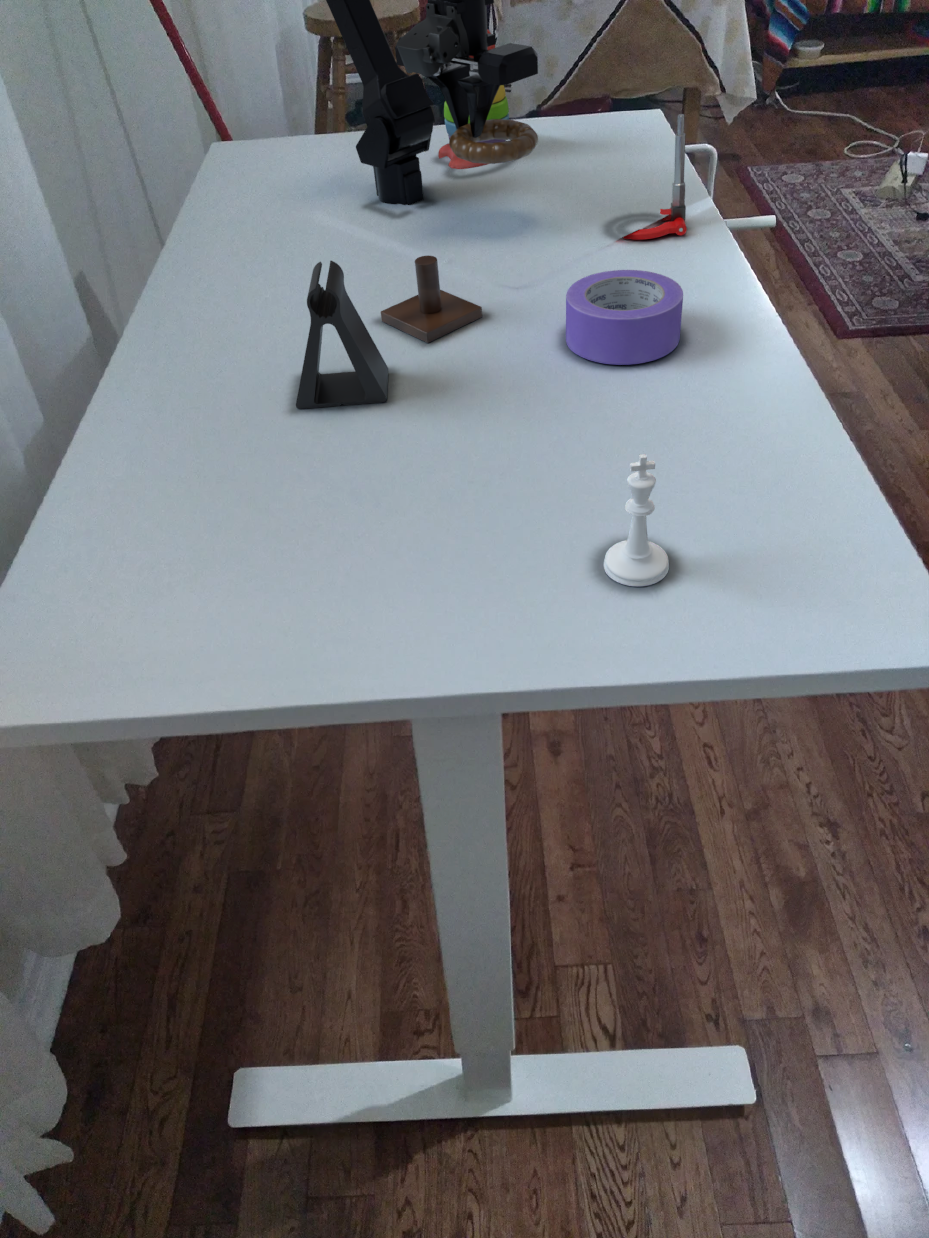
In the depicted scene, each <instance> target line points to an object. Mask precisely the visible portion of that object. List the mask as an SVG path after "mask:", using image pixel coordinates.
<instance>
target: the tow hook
mask: <svg viewBox="0 0 929 1238" xmlns="http://www.w3.org/2000/svg"><path fill="white" fill-rule="evenodd" d="M676 123H677V126H676V128H677V129H676V132H677V133H675V135H674V136H675V138H674V168H673V169H674V170H673V171H674V172H673V182H672V189H671V190H672V192H671V193H672V194H671V202H670V208H660V209H659V210H660V211H659V214H660V215H662V216H664V217H662V218H660V219H659V220H660V221H663V223H662V224H660V225H657V226H654V227H650V228H638V229H636V230H635V231H631V232H630V233H628V234H626V235H623V236H622V237H621V239H625V240H634V241H638V240H640V241H641V240H642V241H643V240H651V239H657V238H660V237H663V236H667V235H668V234H676V235H678V236H684V235H685V234H686V233H687V231H688V228H687V225H686V224H687V223H686V215H687V214H686V212H687V207H686V182H685V163H686V162H685V161H686V160H685V158H686V136H687V135H686V133H685V114H684V113H680V114H677V122H676ZM664 221H665V222H664Z"/></svg>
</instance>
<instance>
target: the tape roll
mask: <svg viewBox="0 0 929 1238" xmlns="http://www.w3.org/2000/svg"><path fill="white" fill-rule="evenodd" d="M683 303H684V290H683V288H682V286H681V285H680V284H679V283H678V282H677V281H676V280H674V279H673V278H671V277H669V276H666V275H663V274H661V273H657V272H653V271H648V270H640V269H614V270H606V271H601V272H596V273H593V274H590V275H586V276H584V277H582V278H580V279H578V280H576V281H575V282H573V283H571V285H570V286H569V287H568V288H567V291H566V292H565V343H566V346H567V348H568V349H569V350H570V351H571V352H572V353H574V354H575V355H577V356H579V357H580V358H583V359H585V360H587V361H591V362H595V363H600V364H605V365H615V366H616V365H618V366H621V365H622V366H623V365H626V366H627V365H628V366H629V365H638V364H644V363H648V362H652V361H656V360H659V359H661V358H663V357H666V356H667V355H669V354H671V353H672V352H673V351H674V350H675V349H676V348H677V346H678V345H679V343H680V340H681V327H682V313H683Z"/></svg>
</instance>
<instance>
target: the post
mask: <svg viewBox="0 0 929 1238" xmlns="http://www.w3.org/2000/svg"><path fill="white" fill-rule="evenodd" d="M438 263H439V262H438V258H437V257H436V256H434V255H421V256H419V257H417V258H416V259H414V267H415V276H416V286H417V294H416V295H414V296H411V297H410V298H407V299H405V300H402V301H400V302H399V303H398V302H397V303H396V304H394V305H391V306H390V307H387V308H385V309H383V310H381V311H380V319H381V322H383V323H385V324H387V325H389V326H390V327H393V328H395V329H397V330H399V331H401V332H402V333H403V332H404V333H406V334H408V335H409V336H412V337H414V338H416V339H418V340H420V341H422V342H425V343H427V344H429V343H432V342H434V341H435V340H437V339H439V338H441V337H444V336H446V335H448V334H450V333H452V332H454V331H456V330H458V329H460V328H462V327H465V326H466V325H468V324H471V323H473V322H475V321H477V320H479V319H481V318H483V307H482V306H480V305H479V304H475V303H473V302H471V301H468V300H466V299H463V298H462V297H459V296H456V295H454V294H452V293H451V292H447V291H445V290H443V289H441V286H440V273H439V264H438Z"/></svg>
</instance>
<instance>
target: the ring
mask: <svg viewBox="0 0 929 1238" xmlns="http://www.w3.org/2000/svg"><path fill="white" fill-rule="evenodd" d="M491 139H503V140H506V141H504V142H497V143H482V142H478V141H484V140H491ZM538 142H539V135H538V133H537V132H536V130H534V129H533V128H532V126H531V125H530V124H528V123H525V122H521V121H518V120H514V119H509V120H504V119H490V120H486V122H485V125H484V128H483V131H482V133H481V136H479V137H477V138H474V137H473V136H472V132H471V127H470V123H469V124H467V125H464V126H461V127H459V128H458V129H457V130H456V131H455V132H454V133H453V135H452V136H451V137H450V140H449V139H448V143H449V145H450V148H451V149H452V151H453V152H454V154H455V155H456V156H457V157H458V158H460V159H463V160H466V161H470V162H473V163H485V164H487V165H497V164H504V163H510V162H515V161H517V160H520V159H522V158H525V157H527V156H529V155H530V154H532V152H533V151H534V149H535V148H536V146H537V145H538Z"/></svg>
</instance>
